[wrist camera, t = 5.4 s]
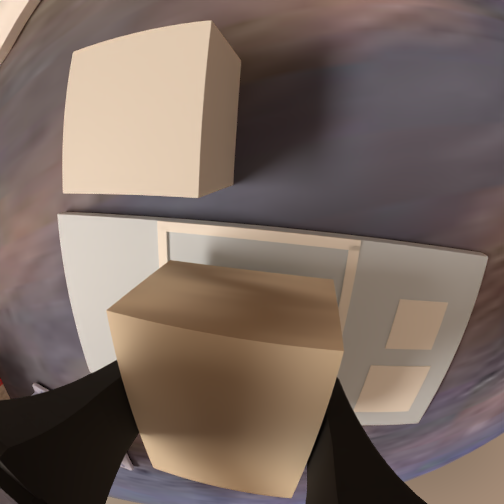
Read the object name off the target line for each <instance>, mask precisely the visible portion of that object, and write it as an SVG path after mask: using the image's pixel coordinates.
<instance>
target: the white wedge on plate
mask: <svg viewBox="0 0 504 504" xmlns="http://www.w3.org/2000/svg"><path fill="white" fill-rule="evenodd" d="M40 1H41V0H0V65H1V64H2V62H3V61H4V59H5V58H6V56H7V55H8V53H9V52H10V50H11V48H12V46H13V44H14V43H15V41H16V39H17V37H18V35H19V34H20V32H21V30H22V29H23V27H24V25H25V24H26V22H27V20H28V19H29V17H30V16H31V14H32V13H33V11H34V10H35V8H36V7H37V5H38V4H39V2H40Z"/></svg>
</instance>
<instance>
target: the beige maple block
mask: <svg viewBox="0 0 504 504" xmlns="http://www.w3.org/2000/svg"><path fill="white" fill-rule="evenodd" d="M240 72H241V60H240V58H239V57H238V56H237V54H236V53H235V51H234V50H233V49H232V47H231V46H230V44H229V43H228V42H227V40H226V39H225V38H224V36H223V35H222V33H221V32H220V31H219V29H218V28H217V27H216V26H215V24H214V23H213V22H212V20H211V21H201V22H193V23H186V24H179V25H173V26H167V27H161V28H156V29H151V30H147V31H142V32H138V33H134V34H130V35H126V36H122V37H118V38H115V39H111V40H108V41H104V42H101V43H98V44H95V45H92V46H89V47H86V48H83V49H80V50H77V51H75V52H73V55H72V61H71V67H70V73H69V80H68V87H67V95H66V105H65V116H64V131H63V193H85V194H129V195H154V196H174V197H191V198H199V197H202V196H205V195H207V194H210V193H213V192H215V191H218V190H221V189H223V188H226V187H229V186H232V185H233V179H234V161H235V144H236V129H237V114H238V99H239V86H240Z"/></svg>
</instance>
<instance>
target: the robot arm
mask: <svg viewBox="0 0 504 504" xmlns="http://www.w3.org/2000/svg"><path fill="white" fill-rule="evenodd" d="M32 386H33V388H34V390H35V392H34V393H33V394H32V395H31V396H28V397H22V398H16V399H8V400H0V504H105V503H106V500H107V497H108V495H109V492H110V489H111V486H112V484H113V482H114V479H115V477H116V474H117V472H118V470H119V467H120V466H121V467H124V468H126V469H128V470H133V468H134V467H133V465H132V463H131V461H130V459H129V457H128V455H127V451H128V449H129V447H130V446H131V444H132V443H133V441H134V439H135V438H136V436H137V435H138V433H139V430H138V427H137V424H136V421H135V419H134V416H133V413H132V410H131V407H130V403H129V400H128V397H127V394H126V391H125V387H124V384H123V380H122V377H121V373H120V369H119V366H118V362H117V360H115V361H114V362H112V363H110V364H108V365H106V366H105V367H103V368H101V369H99V370H97V371H95V372H93V373H91V374H89V375H87V376H85V377H83V378H81V379H79V380H77V381H75V382H72V383H70V384H67V385H65V386H62V387H59V388H57V389H54V390H51V391H49V390H48V389H46V388H44V387H42V386H41V385H39V384H37V383H34V384H33V385H32ZM306 504H427V503H426V502H425V501H423V500H422V499H421V498H420V497H419V496H417V495H416V494H415V493H414V492H413V491H412V490H411V489H410V488H409V487H408V486H407V485H406V484H405V483H404V482H403V481H402V480H401V479H400V478H399V477H398V476H397V475H396V473H395V472H394V471H393V470H392V469H391V468H390V466H389V465H388V464H387V463H386V461H385V460H384V459H383V457H382V456H381V455H380V454H379V452H378V451H377V449H376V448H375V446H374V445H373V443H372V442H371V440H370V439H369V437H368V436H367V434H366V432H365V431H364V429H363V427H362V426H361V424H360V422H359V420H358V418H357V416H356V415H355V413H354V411H353V409H352V407H351V405H350V403H349V401H348V399H347V396H346V394H345V392H344V390H343V387H342V385H341V383H340V380H339V379H338V377H337V378H336V381H335V385H334V388H333V391H332V394H331V397H330V400H329V403H328V406H327V409H326V412H325V415H324V418H323V421H322V424H321V427H320V429H319V432H318V435H317V438H316V440H315V443H314V446H313V448H312V451H311V453H310V456H309V458H308V461H307V497H306Z"/></svg>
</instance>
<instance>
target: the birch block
mask: <svg viewBox="0 0 504 504" xmlns="http://www.w3.org/2000/svg"><path fill="white" fill-rule="evenodd" d="M106 312H107V317H108V322H109V327H110V332H111V336H112V341H113V345H114V350H115V354H116V358H117V362H118V366H119V369H120V373H121V377H122V380H123V384H124V387H125V391H126V394H127V397H128V400H129V403H130V407H131V410H132V413H133V416H134V419H135V421H136V424H137V427H138V430H139V433H140V435H141V438H142V441H143V443H144V446H145V448H146V451H147V453H148V456H149V458H150V461H151V463H152V465H153V468H156V469H158V470H161V471H164V472H167V473H170V474H173V475H177V476H180V477H183V478H187V479H190V480H194V481H197V482H201V483H205V484H209V485H213V486H218V487H222V488H227V489H231V490H237V491H242V492H247V493H254V494H260V495H267V496H275V497H284V498H292V496H293V493H294V491H295V489H296V487H297V484H298V482H299V480H300V478H301V475H302V473H303V471H304V468H305V466H306V463H307V461H308V458H309V456H310V453H311V451H312V448H313V446H314V443H315V440H316V438H317V435H318V432H319V429H320V427H321V424H322V421H323V418H324V415H325V412H326V409H327V406H328V403H329V400H330V397H331V394H332V391H333V388H334V385H335V381H336V378H337V375H338V371H339V368H340V364H341V361H342V357H343V353H344V346H343V338H342V331H341V324H340V317H339V311H338V304H337V298H336V292H335V286H334V280H333V279H324V278H315V277H306V276H297V275H288V274H280V273H271V272H262V271H254V270H246V269H237V268H229V267H221V266H213V265H205V264H197V263H190V262H182V261H174V260H170V261H168V262H167V263H166V264H164V265H163V266H162V267H160V268H159V269H158V270H156V271H155V272H154V273H153V274H151V275H150V276H149V277H147V278H146V279H145V280H144V281H142V282H141V283H140V284H139V285H137V286H136V287H135V288H133V289H132V290H131V291H130V292H128V293H127V294H126V295H125V296H123V297H122V298H121V299H120V300H118V301H117V302H116V303H115V304H113V305H112V306H111V307H110V308H108V309H107V310H106Z"/></svg>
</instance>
